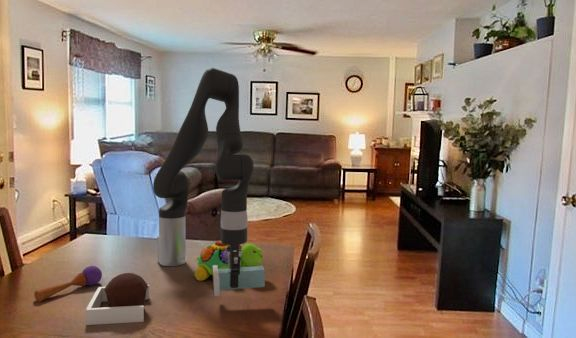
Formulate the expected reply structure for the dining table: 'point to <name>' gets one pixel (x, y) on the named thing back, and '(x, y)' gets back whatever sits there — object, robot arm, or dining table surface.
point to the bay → (112, 311)
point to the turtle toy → (225, 258)
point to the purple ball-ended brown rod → (72, 283)
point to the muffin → (126, 290)
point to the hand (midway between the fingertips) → (233, 284)
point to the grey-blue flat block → (246, 279)
